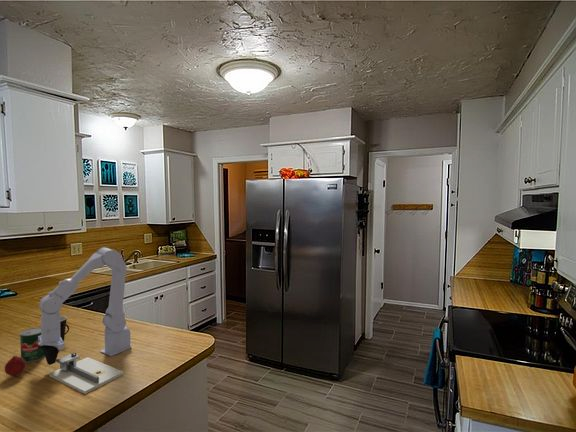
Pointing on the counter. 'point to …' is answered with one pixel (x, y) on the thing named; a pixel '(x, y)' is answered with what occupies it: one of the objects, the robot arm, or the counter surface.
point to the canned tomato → (31, 345)
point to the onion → (15, 366)
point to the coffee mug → (63, 327)
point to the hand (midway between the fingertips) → (51, 363)
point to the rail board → (86, 375)
